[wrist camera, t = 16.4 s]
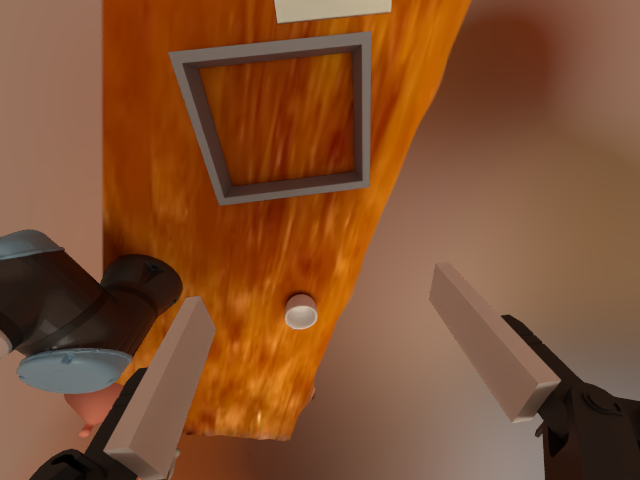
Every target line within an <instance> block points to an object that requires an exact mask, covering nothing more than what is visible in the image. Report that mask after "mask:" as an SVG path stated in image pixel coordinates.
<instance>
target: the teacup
mask: <svg viewBox="0 0 640 480" xmlns="http://www.w3.org/2000/svg"><path fill="white" fill-rule="evenodd" d="M317 317H318V313H317V308H316V305H315V302H314V301H313V299H312V298H311V297H309V296H307V295H304V294H299V295H295V296H293V297H292V298H291V299H290V300H289V301H288V303H287V305H286V309H285V321H286V323H287V325H288V326H290V327H291V328H292V329H293V330H294V329H306V328H308V327H310V326H312V325H313V324H314V323H315V322H316V320H317Z"/></svg>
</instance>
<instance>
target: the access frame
mask: <svg viewBox="0 0 640 480" xmlns="http://www.w3.org/2000/svg"><path fill="white" fill-rule="evenodd" d="M348 52H352V63H353V110H354V157H355V172H348V173H340V174H332V175H324V176H315V177H307V178H299V179H291V180H283V181H275V182H266V183H258V184H250V185H242V186H234V187H232V184H231V180H230V177H229V173H228V170H227V166H226V163H225V159H224V156H223V153H222V149H221V146H220V142H219V139H218V135H217V132H216V128H215V125H214V122H213V118H212V115H211V111H210V108H209V104H208V101H207V97H206V94H205V91H204V87H203V84H202V80H201V77H200V73H199V70H198V68H206V67H216V66H225V65H234V64H244V63H253V62H263V61H272V60H282V59H291V58H300V57H310V56H319V55H329V54H338V53H348ZM168 53H169V56H170V59H171V62H172V65H173V68H174V71H175V74H176V77H177V80H178V83H179V86H180V89H181V92H182V95H183V98H184V101H185V104H186V107H187V110H188V113H189V116H190V119H191V122H192V125H193V128H194V131H195V134H196V137H197V140H198V143H199V146H200V149H201V152H202V155H203V158H204V161H205V164H206V167H207V170H208V173H209V176H210V179H211V182H212V185H213V188H214V191H215V194H216V197H217V200H218V203H219V206H222V205H230V204H238V203H246V202H254V201H262V200H270V199H278V198H286V197H294V196H302V195H310V194H318V193H326V192H334V191H342V190H350V189H358V188H366V187H370V104H371V31H369V32H359V33H350V34H340V35H330V36H321V37H311V38H301V39H292V40H282V41H272V42H263V43H253V44H243V45H234V46H224V47H214V48H205V49H195V50H185V51H176V52H168Z"/></svg>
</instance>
